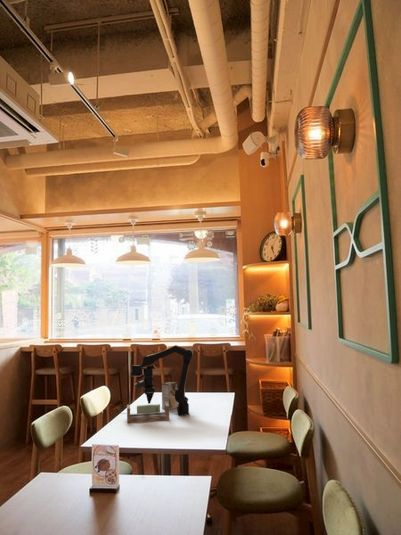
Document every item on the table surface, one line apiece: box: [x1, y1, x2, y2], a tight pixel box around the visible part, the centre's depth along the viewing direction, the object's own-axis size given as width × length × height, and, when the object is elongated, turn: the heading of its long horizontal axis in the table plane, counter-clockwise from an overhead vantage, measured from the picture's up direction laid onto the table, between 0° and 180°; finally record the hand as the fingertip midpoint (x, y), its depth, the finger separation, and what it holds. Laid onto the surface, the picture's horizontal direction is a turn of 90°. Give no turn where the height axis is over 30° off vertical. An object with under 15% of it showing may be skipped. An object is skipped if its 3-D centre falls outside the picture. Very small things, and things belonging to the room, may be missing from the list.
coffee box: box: [161, 381, 179, 411], centre depth 277 cm, size 9×6×16 cm
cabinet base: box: [126, 403, 170, 424], centre depth 248 cm, size 24×10×8 cm, turn 100°
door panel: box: [136, 403, 161, 414], centre depth 259 cm, size 14×3×6 cm, turn 100°
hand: (148, 402), depth 259 cm, fingers open, 9 cm apart
